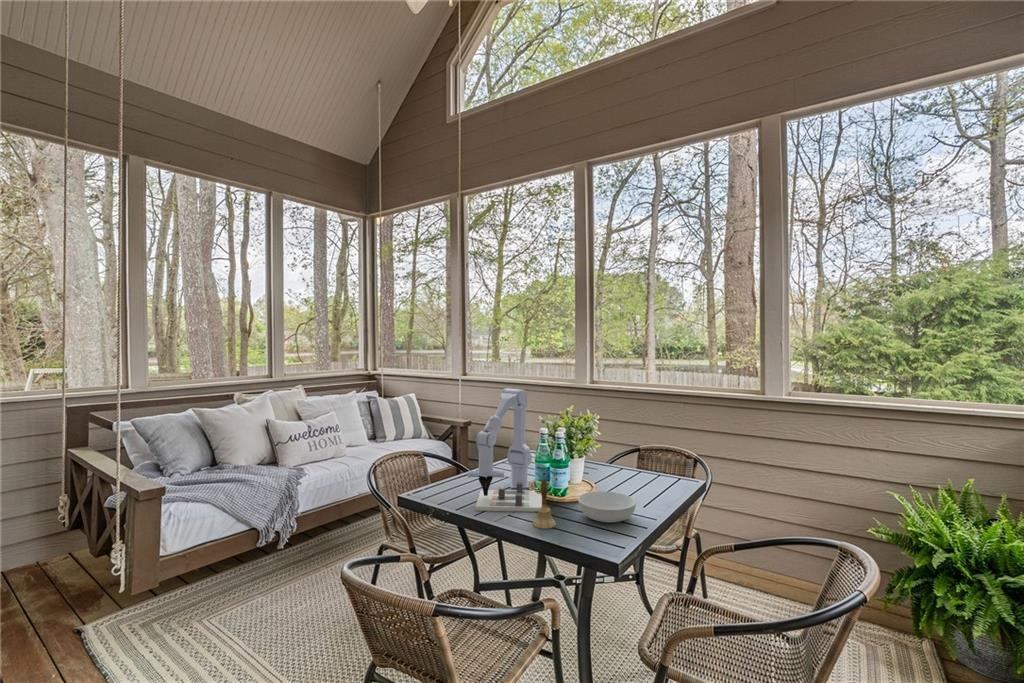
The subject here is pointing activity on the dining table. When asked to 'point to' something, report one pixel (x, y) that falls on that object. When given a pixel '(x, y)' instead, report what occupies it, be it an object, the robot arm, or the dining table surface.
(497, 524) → the dining table surface
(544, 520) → the hand bell
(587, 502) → the serving bowl
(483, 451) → the robot arm
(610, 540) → the dining table surface
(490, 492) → the panel
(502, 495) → the breaker
